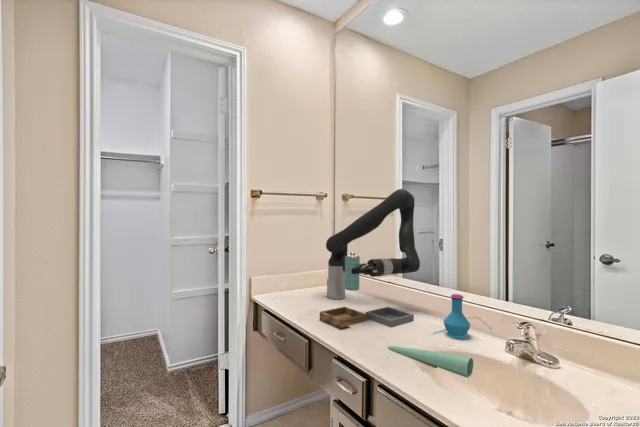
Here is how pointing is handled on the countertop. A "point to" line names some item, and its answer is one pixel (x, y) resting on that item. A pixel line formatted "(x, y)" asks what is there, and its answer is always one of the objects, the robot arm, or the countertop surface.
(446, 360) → the mint green cone
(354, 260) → the teal octagonal tall prism
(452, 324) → the perfume bottle
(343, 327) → the walnut tray
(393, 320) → the charcoal bin
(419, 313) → the countertop surface
